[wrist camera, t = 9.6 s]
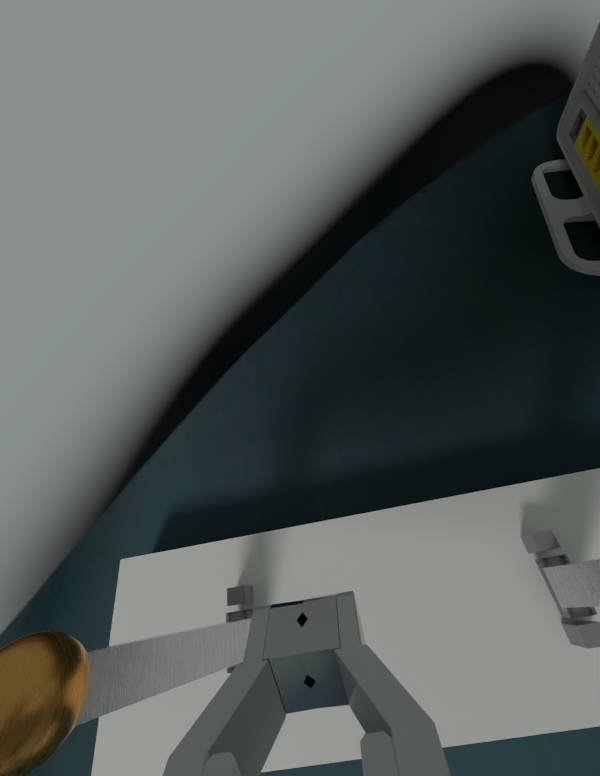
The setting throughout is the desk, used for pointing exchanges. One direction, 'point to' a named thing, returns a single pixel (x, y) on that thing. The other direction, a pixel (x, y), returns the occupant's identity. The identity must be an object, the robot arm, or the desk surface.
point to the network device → (576, 162)
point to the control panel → (387, 619)
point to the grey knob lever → (572, 584)
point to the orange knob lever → (98, 681)
